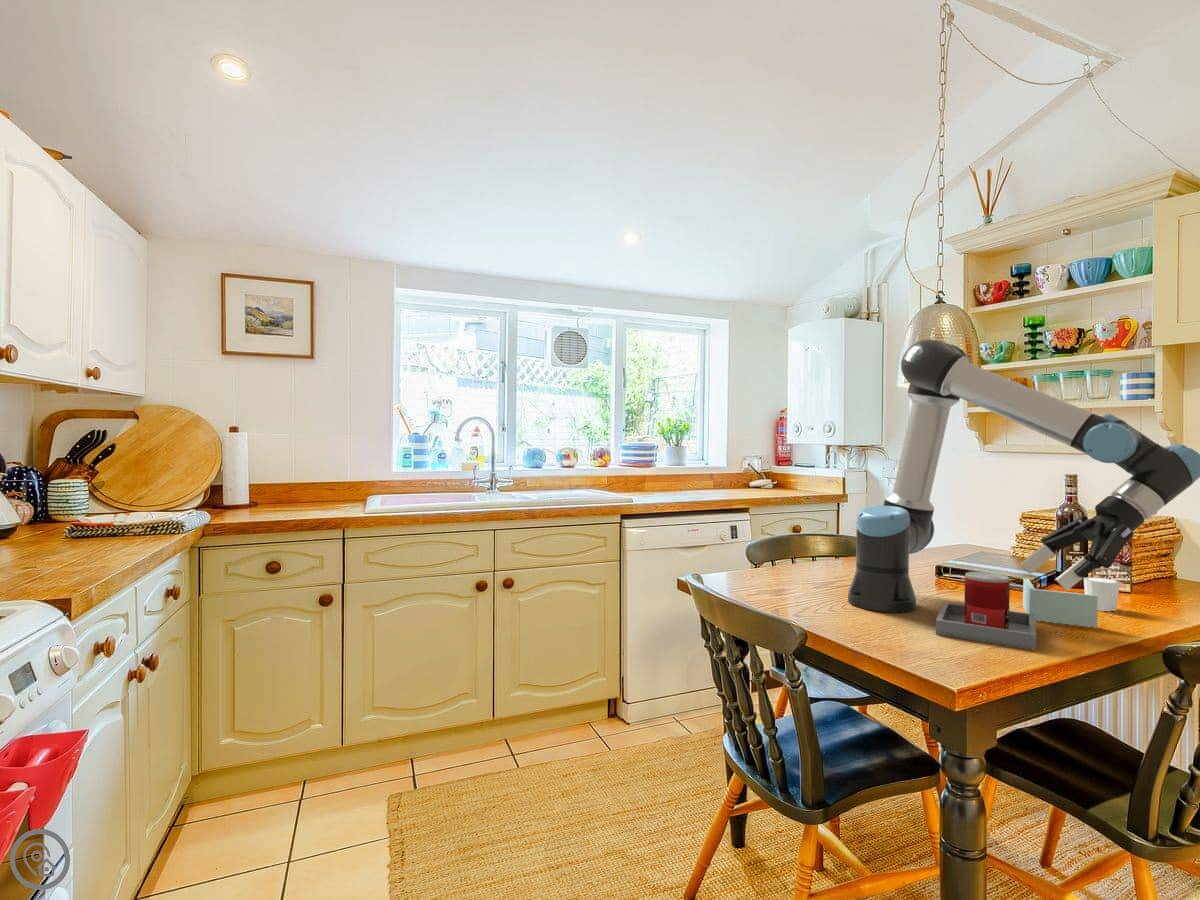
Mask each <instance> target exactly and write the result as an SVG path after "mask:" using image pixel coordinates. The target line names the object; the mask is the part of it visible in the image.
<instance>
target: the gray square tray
mask: <svg viewBox="0 0 1200 900" xmlns="http://www.w3.org/2000/svg"><path fill="white" fill-rule="evenodd" d="M964 611H965V604H961V603H953V602H946V601H944V602H943V603H942V606H941V607H940V610H939V612H938V614H937V616H936V619H935V635H937V636H942V637H950V638H956V639H963V640H967V641H974V642H981V643H986V644H987V643H988V644H993V645H999V646H1005V647H1011V648H1016V647H1018V648H1017V649H1023V648H1027V649H1026V650H1029V649H1034V650H1033V651H1035V650H1036V651H1037V628H1036V627H1037V626H1036V625H1037V624H1036V621H1035V614H1029V613H1025V612H1021V611H1014V610H1009V627H1008V629H1001V628H994V627H988V626H981V625H974V624H968V623H965V621H964Z"/></svg>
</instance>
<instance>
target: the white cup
mask: <svg viewBox="0 0 1200 900" xmlns="http://www.w3.org/2000/svg"><path fill="white" fill-rule="evenodd" d="M1120 585H1121V582H1120V581H1118V580H1116V579H1110V578H1106V577H1105V578H1104V577H1098V576H1097V577H1094V576H1087V577H1086V576H1085V577H1084V578H1083V587H1084V588H1083V589H1084V594H1090V595H1097V596H1098V608H1097V610H1099V611H1098V612H1100V611H1116V612H1117V606H1118V600H1119V599H1118V598H1119V591H1120V588H1121V587H1120Z"/></svg>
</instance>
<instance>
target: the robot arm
mask: <svg viewBox="0 0 1200 900" xmlns="http://www.w3.org/2000/svg"><path fill="white" fill-rule="evenodd" d="M900 369H901V373H902V375H903V378H905V380H906V381H907V382H908V383H909V386H908V390H907V396H908V397H909V398H910V400H911V402H912V403H911V408H910V413H909V417H908V421H907V426H906V430H905V434H904V435H905V436H904V438H903V439H904V440H903V443H902V447H901V448H902V449H901V453H900V457H899V462H898V466H897V471H896V475H895V476H896V477H895V481H894V485H893V490H892V492H891V493H890V494H888V495H887V496H885V497H884V501H883V505H875V506H869V507H868V506H867V507H864V508H862V509H860V510H859V511H858V513H857V517H856V523H855V527H856V528H855V529H856V532H855V533H856V539H855V543H856V545H855V547H856V549H855V550H856V551H855V552H856V553H855V554H856V561H855V563H856V564H855V566H856V568H855V572H854V573H855V574H854V576H853V577H852V581H851V583H850V585H849V589H848V593H847V602H848V603H849V604H851V605H852V606H855V607H857V608H860V609H861V608H862V609H865V610H869V611H876V612H884V613H908V612H912V611H915V610H916V609H917V597H916V594H915V593H916V592H915V591H914V587H913V584H912V582H911V579H910V575H909V569H910V567H909V565H910V559H909V558H910V555H912V554H915V553H918V552H921V551H923V549H925V548H926V547H928V545H929V544H930V542H932V539H933V537H934V535H935V525H934V521H933V516H934V511H935V507H934V505H933V504H932V502H931V501H930V498H931V494H932V490H933V486H934V481H935V477H936V473H937V469H938V468H937V467H938V463H939V459H940V455H941V450H942V447H943V443H944V437H945V433H946V428H947V425H948V420H949V416H950V411H951V407H953V406H954V405H956V404H958V403H959V402H960V399H962V400H965V401H966V402H969V403H971V404H973V405H976V406H978V407H980V408H982V409H985V410H987V411H989V412H991V413H993V414H996V415H998V416H1000V417H1002V418H1005V419H1007V420H1009V421H1012V422H1014V423H1016V424H1018V425H1021V426H1023V427H1025V428H1028V429H1030V430H1032V431H1035V432H1037V433H1039V434H1040V435H1041V434H1042V435H1044V436H1045V437H1046V436H1047V438H1050V439H1053V440H1056V441H1057V442H1060V443H1062V444H1065V445H1066V446H1069V447H1071V448H1072V449H1075V450H1077V451H1080V452H1081V453H1084V454H1086V455H1088V456H1089V457H1090V458H1092V459H1094V460H1096V461H1098V462H1101V463H1103V464H1115V465H1116V466H1118V467H1120V468H1121V469H1122V470H1124V471H1125V472H1127V473H1128V474H1130V475H1131V477H1129V478H1128V479H1126V481H1124V482H1123V483H1121V485H1119V486H1117V488H1116V489H1114V490H1113V491H1112V492H1111V493H1110V494H1111V495H1108V496H1106V497H1105V498H1103V499H1102V500H1101V501H1100V502H1099V503H1098V504H1097V505H1095V507H1094V511H1095V512H1096V514H1095V516H1093V517H1091V518H1088V516H1086V515H1085V514H1082V515H1080V516H1079V517H1078V518H1076V519H1075V520H1073V521H1071V522H1070V523H1067V524H1066V525H1064V526H1062V527H1060V528H1059V529H1057V530H1055V531H1052V532H1050V533H1049V534H1047V535H1045V536H1044V537H1041V539H1040V541H1041V543H1042V545H1041V546H1040V547H1039V548H1037V549H1036V550H1035V551H1034V552H1032V554H1030V555H1029V556H1027V558H1025V559H1024V560H1023V561H1022V562H1020V563H1019V565H1020V566H1021V568H1023V569H1024V570H1025V571H1026V572H1027V574H1029V575H1032V574H1033V573H1034V572H1035V571H1036V570H1038V569H1039V568H1040V567H1041V566H1043V564H1045V563H1046V562H1047V561H1049V560H1050V559H1051V558H1053V557H1054V556H1056V555H1057V552H1058V551H1060V550H1063V549H1065V548H1068V547H1071V546H1073V545H1075V544H1078V543H1080V542H1084V543H1087V542H1091V543H1090V547H1089V549H1088V553H1087V554H1084V555H1083V557H1081V558H1080V559H1078V560H1077V561H1076V562H1074V563H1073V564H1072V565H1071V566H1070V567H1068V568H1067V569H1066V570H1065V571H1063V572H1062V573H1061V574H1060V575H1059V576H1057V577H1056V578H1055V579H1054V580H1055V581H1056V582H1057V583H1058V585H1060V586H1061V587H1062V588H1063V589H1064V590H1065V591H1069V590H1070V589H1071V588H1072V587H1074V586H1075V585H1076V584H1078V582H1080V581H1082V579H1084V578H1085V577H1086V576H1087V575H1089V574H1090V573H1092V571H1094V570H1095V569H1097V570H1098V569H1100V568H1102V567H1103V568H1104V569H1110V567H1112V566H1113V563H1114V562H1115V560H1116V559H1117V558H1118V556H1119V554H1120V553H1121V551H1122V550H1123V548H1124V546H1125V544H1126V543H1127V542H1129V540H1131V539H1132V537H1134V535H1135V533H1134V531H1135V530H1136V529H1138V528H1139V527H1140V526H1142V525H1143V524H1144V523H1145V520H1149V518H1151V517H1152V516H1155V515H1157V514H1158V512H1159V510H1161V509H1162V508H1163V507H1165V506H1166V505H1167V504H1169V503H1170V502H1171V501H1173V500H1174V499H1175V498H1176V497H1178V496H1179V495H1181V494H1182V493H1183V492H1184V491H1185V490H1186V489H1188V488H1190V487H1191V486H1192V485H1193V484H1194V483H1195V482H1196V481H1198V479H1199V478H1200V453H1199V452H1198V451H1196V450H1195V449H1193V448H1191V447H1187V446H1186V445H1185V444H1179V443H1173V444H1170V445H1169V446H1166V447H1164V446H1162V445H1161V444H1158V443H1156V442H1155V441H1154V440H1152V439H1150V437H1148V436H1146V435H1145V434H1144V433H1142V432H1141V431H1139V430H1138V429H1136V428H1134V427H1133V426H1132V425H1130V424H1129V423H1127V422H1126V421H1125V420H1123V419H1121V418H1119V417H1118V416H1116V415H1114V414H1111V413H1106V414H1104V415H1102V416H1101V415H1098V414H1095V413H1093V412H1091V411H1089V410H1087V409H1083V408H1081V407H1078V406H1076V405H1073V404H1070V403H1068V402H1065V401H1064V400H1061V399H1058V398H1056V397H1054V396H1051V395H1048V394H1046V393H1044V392H1041V391H1038V390H1036V389H1034V388H1032V387H1029V386H1027V385H1024V384H1022V383H1019V382H1017V381H1015V380H1012V379H1009V378H1007V377H1004V376H1002V375H1000V374H997V373H994V372H993V371H990V370H987V369H985V368H983V367H980V366H977V365H975V364H973V363H972V361H971V359H970V358H969V355H968V354H967V353H966V352H965V351H964V350H963V349H962V348H960V347H958V346H957V345H954V344H950V343H947V342H943V341H942V340H941V341H940V340H938V339H931V338H929V339H924V340H920V341H917V342H915V343H913V344H912V345H911V346H908V348H907V349H906V350H905V352H904V354H903V355H902V359H901V363H900Z"/></svg>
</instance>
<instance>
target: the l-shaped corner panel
mask: <svg viewBox="0 0 1200 900" xmlns="http://www.w3.org/2000/svg"><path fill="white" fill-rule="evenodd" d="M1022 580H1023V581H1022V583H1023V584H1022V585H1023V587H1022V588H1023V589H1022V609H1023V608H1024V609H1023V611H1024V610H1025V611H1024V613H1025V612H1026V613H1029V614H1035V620H1037V621H1036V622H1040V621H1045V622H1044V623H1048V622H1053V623H1052V624H1057V623H1061V624H1060V625H1065V624H1070V625H1069V626H1073V625H1079V626H1078V627H1081V626H1089V627H1088V628H1090V627H1097V628H1098V611H1097V608H1098V596H1097V595H1090V594H1085V593H1079V592H1069V591H1068V592H1067V591H1061V590H1060V591H1059V590H1051V589H1049V590H1047V589H1040V588H1039V589H1038V588H1036V587H1034V585H1033V583H1032V582H1031V580H1030V578H1023V579H1022Z"/></svg>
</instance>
